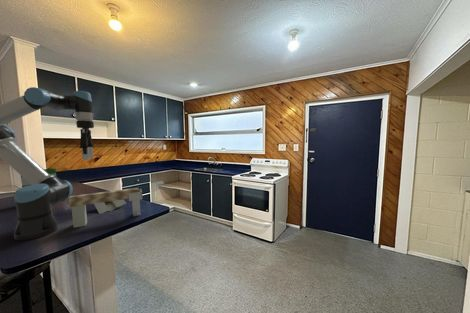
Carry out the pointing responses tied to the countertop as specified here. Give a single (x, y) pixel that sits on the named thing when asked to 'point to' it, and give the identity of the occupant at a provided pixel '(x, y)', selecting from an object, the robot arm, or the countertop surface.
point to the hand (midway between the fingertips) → (88, 159)
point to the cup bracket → (136, 201)
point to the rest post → (79, 216)
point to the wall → (108, 205)
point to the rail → (100, 197)
